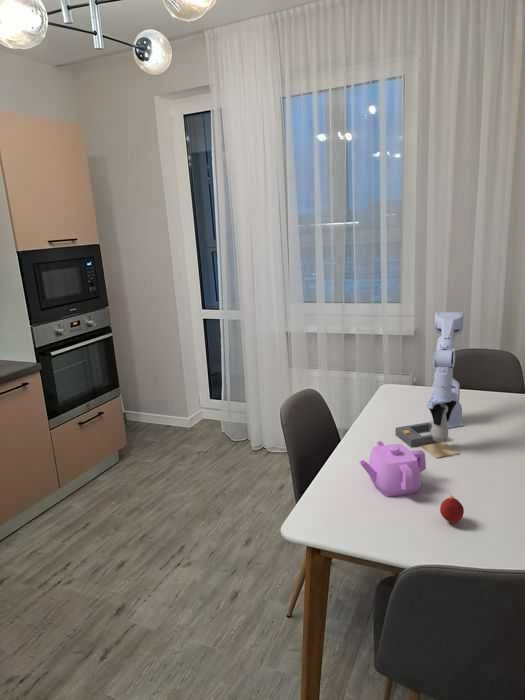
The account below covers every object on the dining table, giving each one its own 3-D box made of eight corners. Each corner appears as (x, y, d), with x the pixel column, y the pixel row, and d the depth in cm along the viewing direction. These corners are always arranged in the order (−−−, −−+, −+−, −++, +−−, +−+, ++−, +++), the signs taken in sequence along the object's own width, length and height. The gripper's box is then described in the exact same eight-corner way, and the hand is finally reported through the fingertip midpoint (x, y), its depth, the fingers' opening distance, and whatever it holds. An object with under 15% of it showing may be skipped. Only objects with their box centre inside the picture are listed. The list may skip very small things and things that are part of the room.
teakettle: (411, 505, 139) (413, 466, 136) (356, 489, 149) (356, 452, 145) (429, 478, 153) (431, 442, 149) (377, 465, 162) (378, 431, 159)
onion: (463, 518, 132) (465, 492, 130) (462, 531, 127) (463, 503, 125) (440, 514, 134) (441, 488, 132) (438, 526, 129) (439, 499, 127)
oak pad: (444, 443, 175) (444, 441, 174) (459, 454, 166) (460, 452, 166) (421, 447, 173) (421, 445, 172) (436, 458, 164) (436, 457, 164)
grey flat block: (428, 429, 186) (429, 420, 185) (446, 441, 176) (446, 432, 175) (395, 435, 183) (395, 426, 182) (411, 447, 173) (411, 438, 172)
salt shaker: (426, 438, 170) (428, 403, 166) (437, 434, 173) (440, 400, 169) (439, 445, 165) (442, 409, 161) (451, 440, 168) (454, 405, 164)
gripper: (445, 377, 171) (443, 413, 174) (419, 387, 162) (418, 425, 166) (463, 381, 165) (461, 419, 169) (438, 392, 157) (436, 431, 160)
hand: (441, 422), depth 167 cm, fingers closed on salt shaker, 4 cm apart
